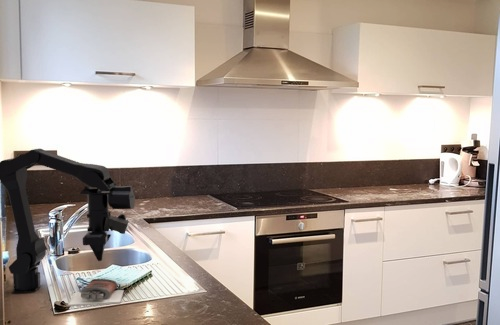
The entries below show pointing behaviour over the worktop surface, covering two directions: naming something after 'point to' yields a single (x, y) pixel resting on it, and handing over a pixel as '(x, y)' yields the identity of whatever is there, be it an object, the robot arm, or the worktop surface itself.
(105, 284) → the lighter
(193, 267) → the worktop surface
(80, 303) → the mat
